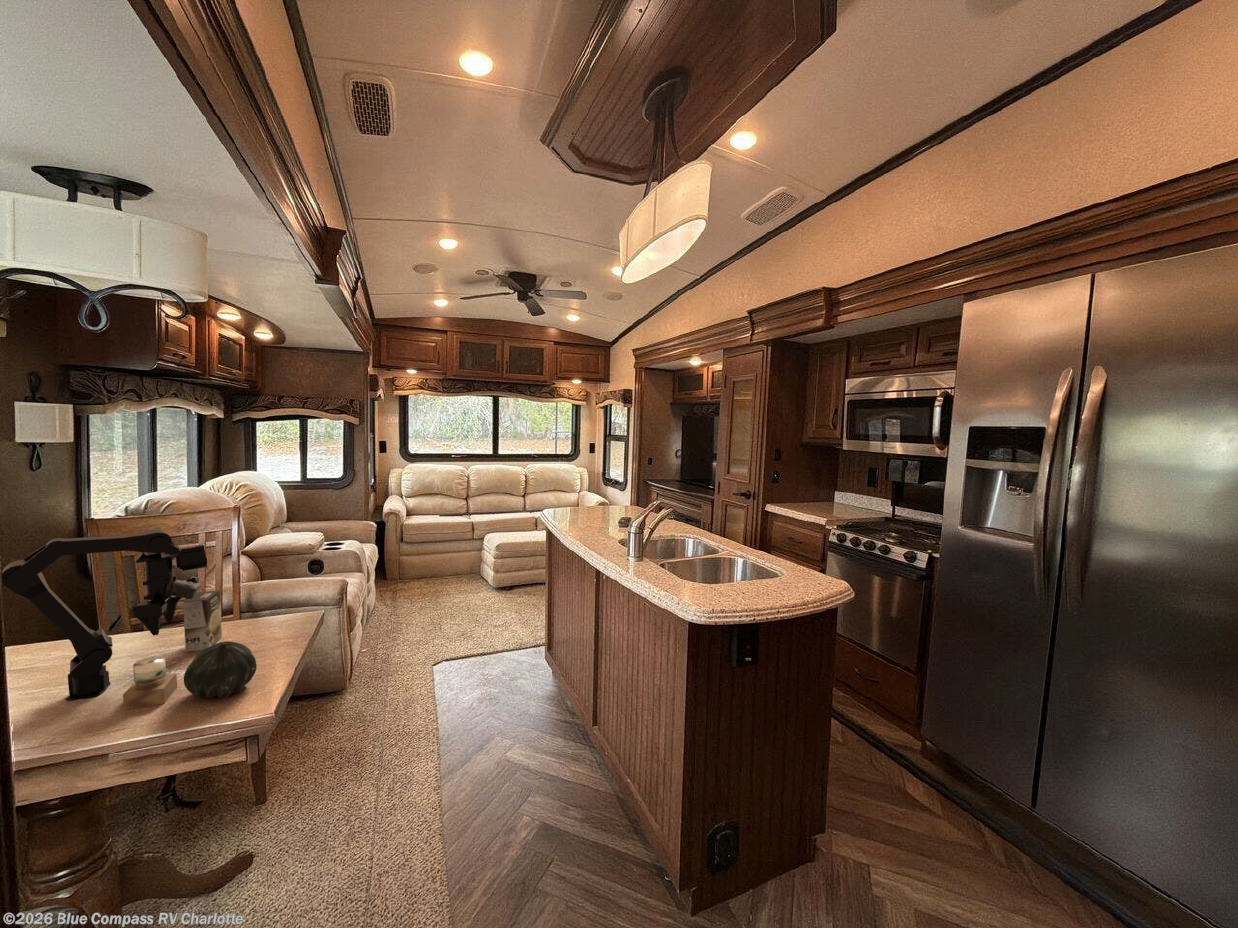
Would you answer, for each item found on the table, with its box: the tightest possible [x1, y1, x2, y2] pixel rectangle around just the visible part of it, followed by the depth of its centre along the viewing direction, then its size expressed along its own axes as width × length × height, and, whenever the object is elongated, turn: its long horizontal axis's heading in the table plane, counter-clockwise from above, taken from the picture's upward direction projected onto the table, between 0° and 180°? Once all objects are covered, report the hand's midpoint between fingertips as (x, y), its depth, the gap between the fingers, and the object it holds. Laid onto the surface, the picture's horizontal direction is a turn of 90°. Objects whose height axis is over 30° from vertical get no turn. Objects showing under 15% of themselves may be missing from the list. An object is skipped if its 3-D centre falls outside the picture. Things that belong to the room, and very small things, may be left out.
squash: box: [183, 640, 258, 699], centre depth 134 cm, size 14×15×15 cm
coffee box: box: [182, 590, 223, 652], centre depth 160 cm, size 9×6×16 cm
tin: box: [132, 655, 167, 690], centre depth 130 cm, size 6×6×6 cm
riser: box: [122, 673, 178, 711], centre depth 131 cm, size 8×8×4 cm
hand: (163, 628), depth 143 cm, fingers open, 9 cm apart
